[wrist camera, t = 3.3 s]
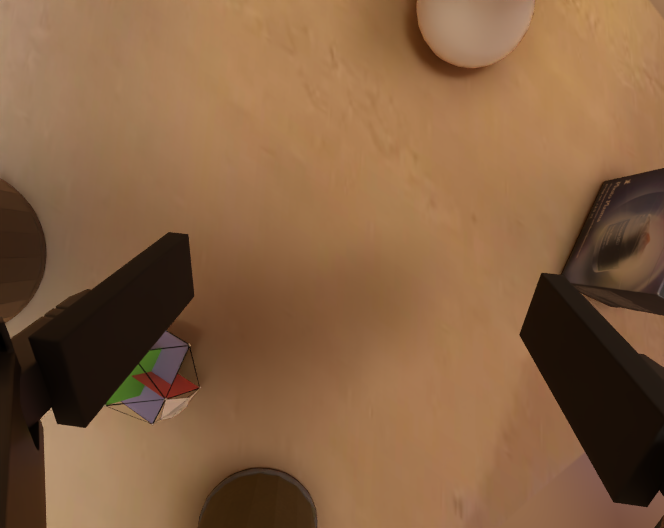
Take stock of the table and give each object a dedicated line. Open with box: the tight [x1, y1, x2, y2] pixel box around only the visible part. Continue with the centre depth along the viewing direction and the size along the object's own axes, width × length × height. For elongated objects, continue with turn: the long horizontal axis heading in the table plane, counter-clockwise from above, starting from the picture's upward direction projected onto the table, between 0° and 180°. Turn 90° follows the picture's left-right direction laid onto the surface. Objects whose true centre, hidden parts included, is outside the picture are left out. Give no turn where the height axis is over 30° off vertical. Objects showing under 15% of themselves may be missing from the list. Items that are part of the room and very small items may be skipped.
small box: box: [562, 168, 664, 316], centre depth 31 cm, size 11×6×10 cm, turn 156°
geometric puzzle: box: [104, 331, 201, 425], centre depth 30 cm, size 7×7×8 cm
